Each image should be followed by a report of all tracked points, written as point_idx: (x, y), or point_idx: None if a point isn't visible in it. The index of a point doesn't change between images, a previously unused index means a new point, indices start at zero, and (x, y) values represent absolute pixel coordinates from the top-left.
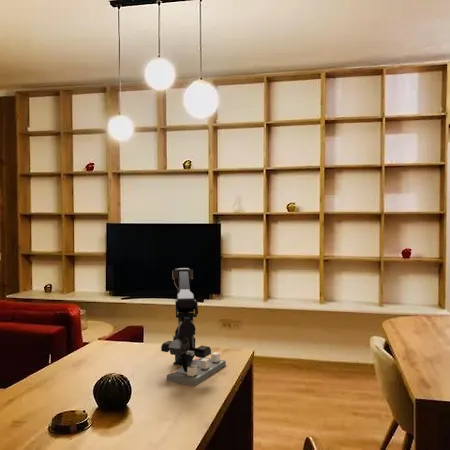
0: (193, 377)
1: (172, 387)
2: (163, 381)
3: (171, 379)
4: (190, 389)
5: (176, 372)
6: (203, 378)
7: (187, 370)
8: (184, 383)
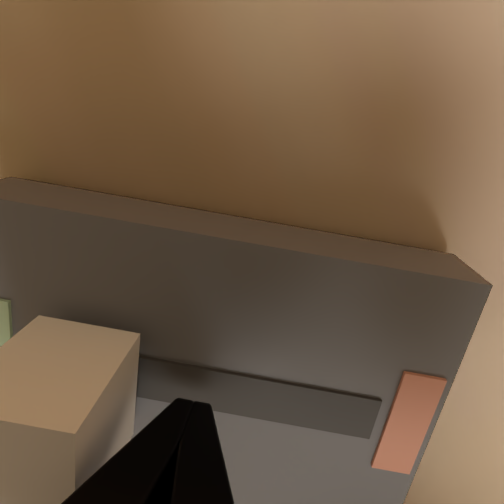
0: (38, 302)
1: (287, 42)
2: (495, 231)
3: (382, 250)
4: (9, 53)
5: (365, 417)
6: None
7: (104, 382)
8: (166, 206)
